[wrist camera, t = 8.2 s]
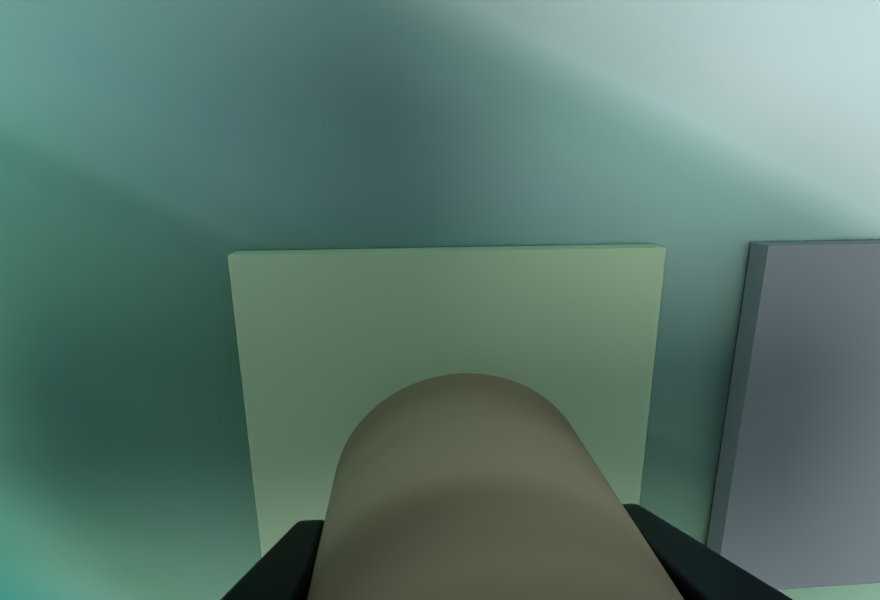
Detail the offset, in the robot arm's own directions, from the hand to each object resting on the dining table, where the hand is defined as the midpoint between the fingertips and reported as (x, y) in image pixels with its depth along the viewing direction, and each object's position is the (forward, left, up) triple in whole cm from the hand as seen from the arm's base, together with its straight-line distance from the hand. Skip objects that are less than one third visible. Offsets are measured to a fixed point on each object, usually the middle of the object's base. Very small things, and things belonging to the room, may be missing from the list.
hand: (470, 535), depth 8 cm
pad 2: (0, -10, -3) cm, 10 cm away
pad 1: (0, 0, -3) cm, 3 cm away
